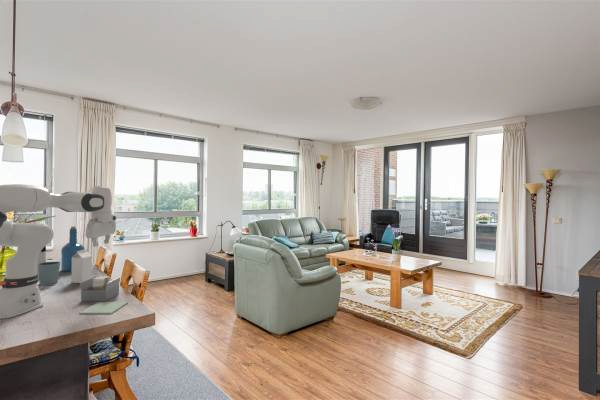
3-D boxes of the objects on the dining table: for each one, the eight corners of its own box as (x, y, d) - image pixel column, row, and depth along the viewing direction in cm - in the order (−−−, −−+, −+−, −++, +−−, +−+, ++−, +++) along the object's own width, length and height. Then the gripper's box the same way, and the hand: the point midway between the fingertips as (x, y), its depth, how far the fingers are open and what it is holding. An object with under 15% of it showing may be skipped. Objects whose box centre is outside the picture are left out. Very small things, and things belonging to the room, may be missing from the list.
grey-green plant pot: (33, 285, 180) (33, 264, 180) (46, 281, 191) (47, 261, 190) (51, 285, 181) (51, 264, 181) (64, 281, 191) (64, 261, 191)
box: (102, 298, 160) (103, 279, 160) (92, 298, 160) (92, 279, 160) (108, 295, 165) (108, 276, 165) (98, 295, 165) (98, 276, 165)
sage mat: (111, 314, 140) (111, 312, 140) (79, 313, 140) (79, 312, 140) (127, 303, 154) (127, 302, 154) (98, 303, 154) (98, 301, 154)
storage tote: (107, 301, 157) (107, 283, 157) (79, 301, 156) (79, 282, 156) (120, 293, 169) (120, 276, 169) (94, 293, 168) (94, 276, 168)
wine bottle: (88, 269, 221) (88, 226, 221) (66, 273, 210) (66, 227, 210) (78, 266, 229) (79, 225, 228) (57, 270, 217) (57, 226, 217)
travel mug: (44, 276, 201) (44, 244, 200) (47, 278, 196) (47, 246, 196) (31, 278, 196) (31, 246, 196) (34, 280, 192) (34, 247, 191)
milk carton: (91, 280, 193) (91, 249, 193) (82, 283, 186) (82, 251, 186) (80, 279, 194) (81, 248, 194) (71, 283, 187) (71, 250, 187)
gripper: (95, 219, 152) (95, 248, 152) (118, 216, 172) (118, 242, 172) (81, 219, 151) (81, 248, 152) (106, 216, 172) (106, 241, 172)
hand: (101, 244), depth 162 cm, fingers open, 8 cm apart
